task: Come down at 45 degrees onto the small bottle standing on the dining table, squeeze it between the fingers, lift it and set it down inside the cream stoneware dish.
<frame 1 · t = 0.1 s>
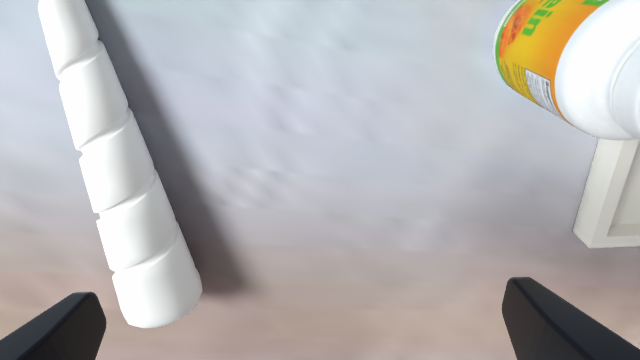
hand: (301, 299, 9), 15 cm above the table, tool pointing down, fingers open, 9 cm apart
unicorn horn: (119, 131, 23), on the table
supplement bottle: (541, 39, 20), on the table
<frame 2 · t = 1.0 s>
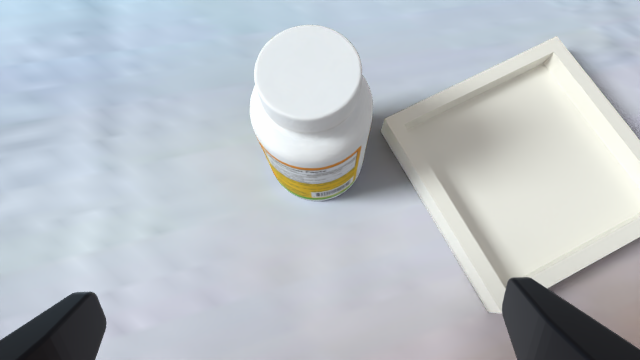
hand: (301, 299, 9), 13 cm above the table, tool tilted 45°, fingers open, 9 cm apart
dish: (517, 171, 23), on the table
supplement bottle: (317, 160, 24), on the table
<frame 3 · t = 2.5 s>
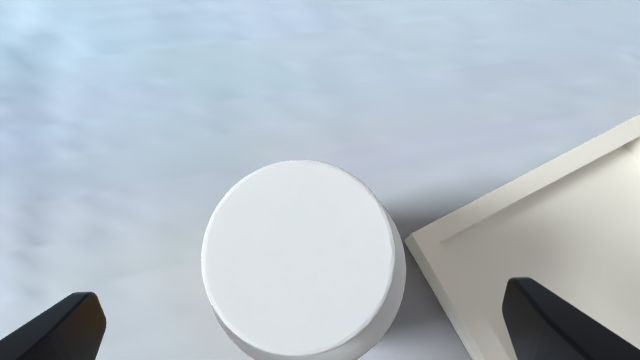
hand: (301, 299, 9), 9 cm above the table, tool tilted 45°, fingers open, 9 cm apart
dish: (596, 301, 17), on the table
supplement bottle: (316, 281, 17), on the table
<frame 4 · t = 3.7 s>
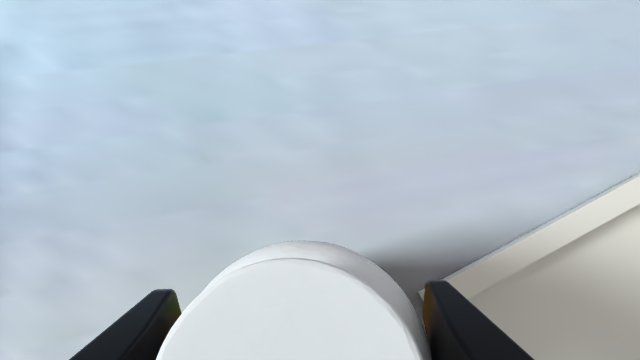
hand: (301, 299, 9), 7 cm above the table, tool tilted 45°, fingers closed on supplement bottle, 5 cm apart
supplement bottle: (315, 340, 15), on the table, touching gripper
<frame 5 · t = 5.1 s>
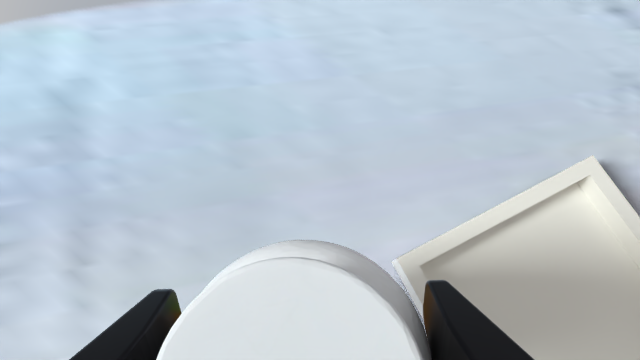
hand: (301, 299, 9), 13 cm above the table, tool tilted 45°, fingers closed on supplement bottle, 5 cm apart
dish: (548, 312, 20), on the table
supplement bottle: (315, 339, 15), point 6 cm above the table, touching gripper
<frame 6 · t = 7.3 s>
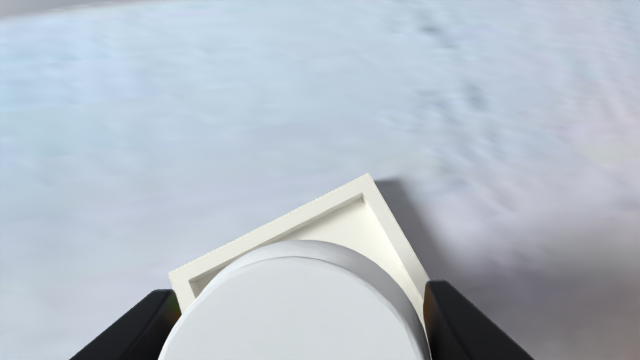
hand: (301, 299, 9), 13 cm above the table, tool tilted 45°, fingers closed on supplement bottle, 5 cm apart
dish: (322, 324, 21), on the table
supplement bottle: (314, 338, 15), point 6 cm above the table, touching gripper
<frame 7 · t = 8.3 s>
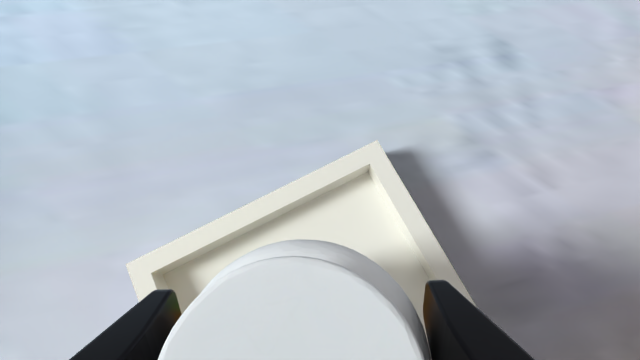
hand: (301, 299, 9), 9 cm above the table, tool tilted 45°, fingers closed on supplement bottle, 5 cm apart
dish: (319, 328, 17), on the table
supplement bottle: (314, 338, 15), point 2 cm above the table, touching gripper
when the fingers open (8 cm above the table, at t = 8.9 s): supplement bottle stays where it is, resting on dish.
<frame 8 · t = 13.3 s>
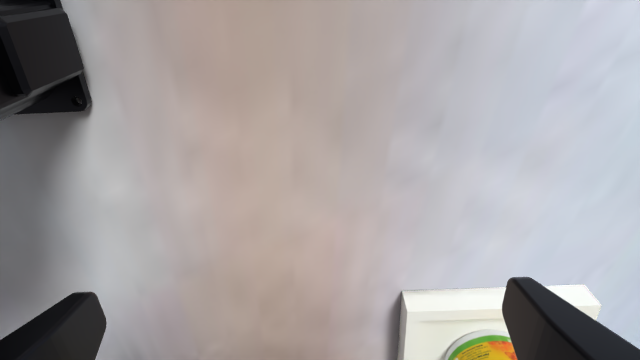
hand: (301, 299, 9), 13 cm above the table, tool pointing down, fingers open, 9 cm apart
dish: (479, 349, 28), on the table
supplement bottle: (481, 352, 28), resting on dish
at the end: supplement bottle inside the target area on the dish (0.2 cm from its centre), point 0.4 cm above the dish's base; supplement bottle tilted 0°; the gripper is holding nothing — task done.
